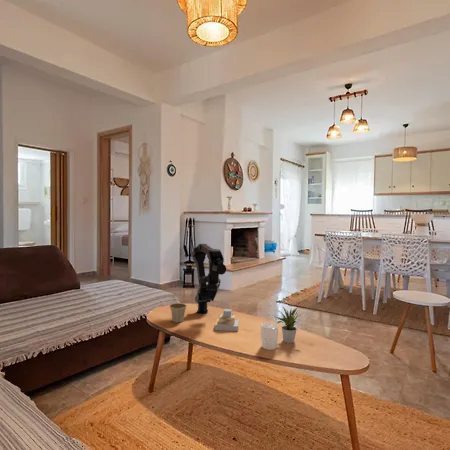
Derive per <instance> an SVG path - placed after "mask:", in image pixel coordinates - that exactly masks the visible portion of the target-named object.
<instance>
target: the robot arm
mask: <svg viewBox="0 0 450 450" xmlns="http://www.w3.org/2000/svg"><path fill="white" fill-rule="evenodd" d="M191 258H192V260H193V262H194V263H195V265H196V266H195V267H196V273H197V282H198V289H197V290H196V295H195V297H194V301H195V303H197V310H196V313H197V314H208V313H209V309H208V303H211V302H214V300H215V298H216V296H217V293H218V290H219V288H220V286H221V279H220V275H221V276H222V275H224V274H225V273H226V272H227V266H226V265H225V264H224V262H225V259H224V255H223V254H222V251H221V249H220V248H219V249H217V248H213V247H211V246H210V245H208V244H207V243H199V244H198V245H197V246H196V247H194V248H193V249H192V251H191ZM206 258H207V259H208V274H207V275H206V270H205V263H204V262H205V259H206Z"/></svg>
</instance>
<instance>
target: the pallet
mask: <svg viewBox="0 0 450 450" xmlns="http://www.w3.org/2000/svg"><path fill="white" fill-rule="evenodd" d="M223 314H224V313H220V314H219V324H235V319H236V314H234V313H233V314H232V313H231V317H223Z"/></svg>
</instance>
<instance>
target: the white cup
mask: <svg viewBox="0 0 450 450" xmlns="http://www.w3.org/2000/svg"><path fill="white" fill-rule="evenodd" d="M260 331H261V333H260V334H261V338H260V339H261V348H263V349H265V350H267V351H269V350H270V351H273V350H276V349H277V348H278V340H279V339H278V338H279V336H278V335H279V324H278V323H275V322H262V323H261V325H260Z"/></svg>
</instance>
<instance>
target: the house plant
mask: <svg viewBox="0 0 450 450" xmlns="http://www.w3.org/2000/svg"><path fill="white" fill-rule="evenodd" d="M282 309H283V311H284V313H283V312H282V311H280V310H277V309H275V311H276V312H278V313H280V314H281V316H282V317H279V316H274V318H275V319H277V321H276V324H279V323H282V324H283V326H281V331H282V332H281V334H282V339H283V342H284V343H288V344H292V343H295V339H296V335H297V331H298V330H297V329H298V328H297V326H295V324H297V321H296V320H297V318H298V317H300V316H301V314H300V315H299V313H300V312H299V310H297V309H298V307H296V308H294V309H293V310H292V308H291V307H290V310H287V309H286V308H285V307H284V306H282Z"/></svg>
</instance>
